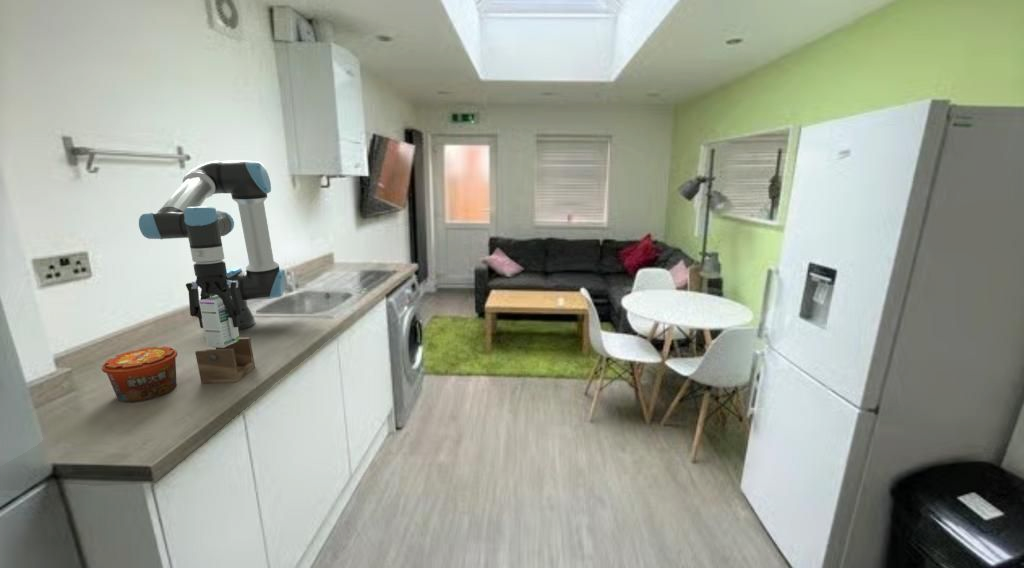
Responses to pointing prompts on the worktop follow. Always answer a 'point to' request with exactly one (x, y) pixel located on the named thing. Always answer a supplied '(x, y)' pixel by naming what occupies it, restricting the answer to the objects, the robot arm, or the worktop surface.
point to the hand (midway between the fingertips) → (222, 337)
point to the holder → (226, 362)
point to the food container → (142, 373)
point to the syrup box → (216, 322)
